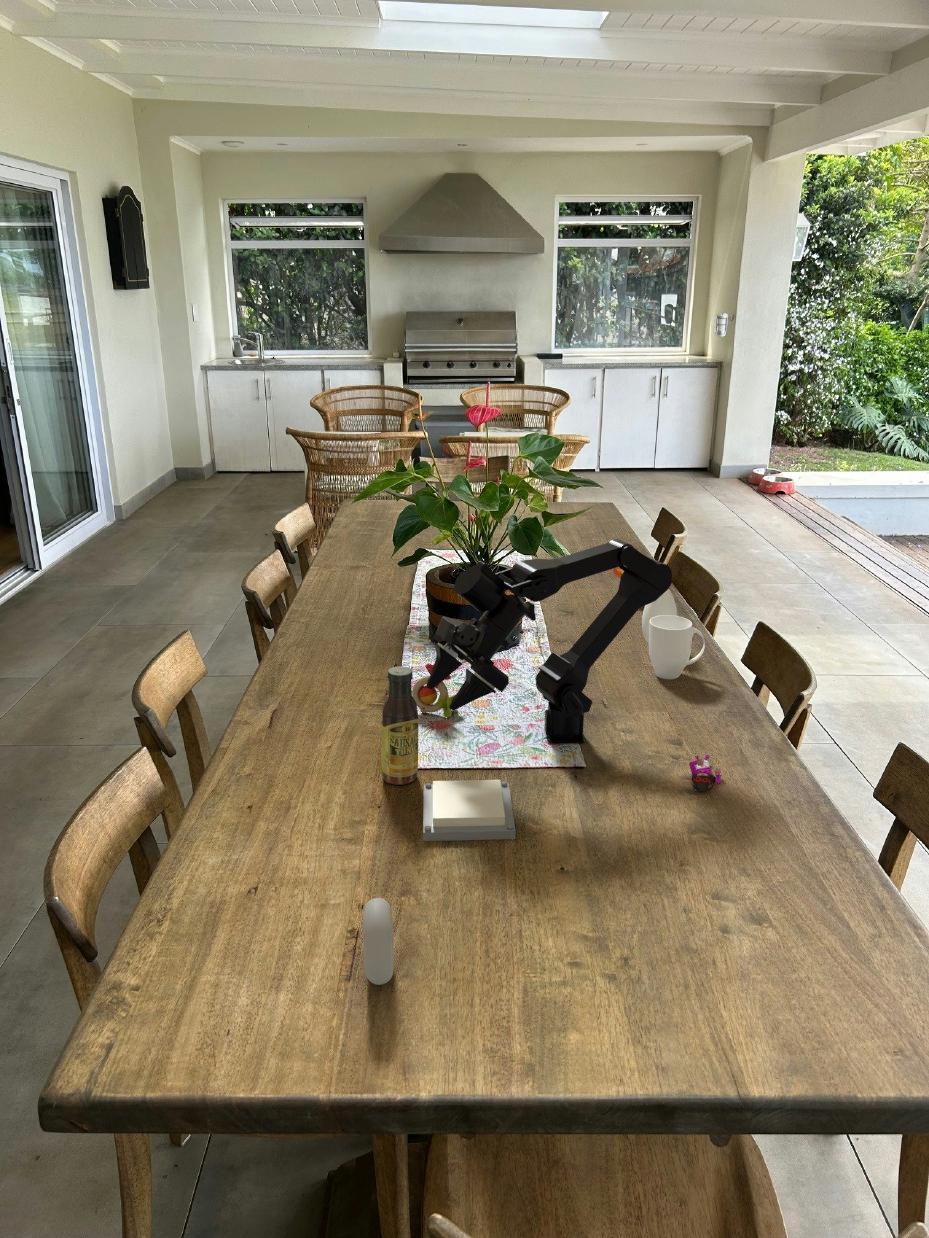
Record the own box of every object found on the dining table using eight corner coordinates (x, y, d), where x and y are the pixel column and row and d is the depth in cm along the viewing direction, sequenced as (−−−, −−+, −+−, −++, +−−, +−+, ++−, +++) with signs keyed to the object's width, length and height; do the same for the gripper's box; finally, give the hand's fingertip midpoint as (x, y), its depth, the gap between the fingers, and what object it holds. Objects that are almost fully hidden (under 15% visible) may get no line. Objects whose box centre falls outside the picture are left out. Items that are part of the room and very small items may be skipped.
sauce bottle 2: (678, 653, 207) (684, 578, 201) (643, 653, 207) (648, 577, 201) (671, 640, 214) (677, 567, 208) (637, 640, 215) (642, 567, 208)
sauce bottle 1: (390, 790, 153) (386, 681, 146) (376, 773, 158) (371, 667, 151) (426, 781, 156) (423, 673, 149) (410, 764, 161) (408, 660, 154)
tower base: (508, 790, 153) (508, 774, 152) (515, 838, 140) (515, 822, 138) (424, 792, 152) (423, 776, 151) (423, 840, 139) (422, 824, 138)
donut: (366, 946, 117) (363, 881, 114) (393, 945, 118) (391, 880, 114) (364, 1004, 108) (361, 935, 105) (394, 1003, 108) (391, 934, 105)
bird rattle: (421, 730, 178) (463, 716, 175) (397, 680, 175) (439, 665, 172) (427, 716, 183) (468, 702, 181) (404, 667, 180) (445, 653, 178)
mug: (649, 682, 193) (652, 628, 189) (643, 666, 201) (646, 614, 197) (705, 683, 192) (710, 629, 188) (697, 667, 200) (702, 615, 196)
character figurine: (685, 767, 162) (686, 795, 150) (688, 740, 161) (690, 766, 149) (718, 771, 161) (722, 800, 149) (722, 744, 160) (726, 771, 148)
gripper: (441, 584, 160) (385, 655, 159) (490, 618, 144) (429, 696, 143) (482, 618, 166) (429, 686, 165) (534, 653, 150) (475, 729, 149)
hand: (439, 698), depth 156 cm, fingers open, 9 cm apart
